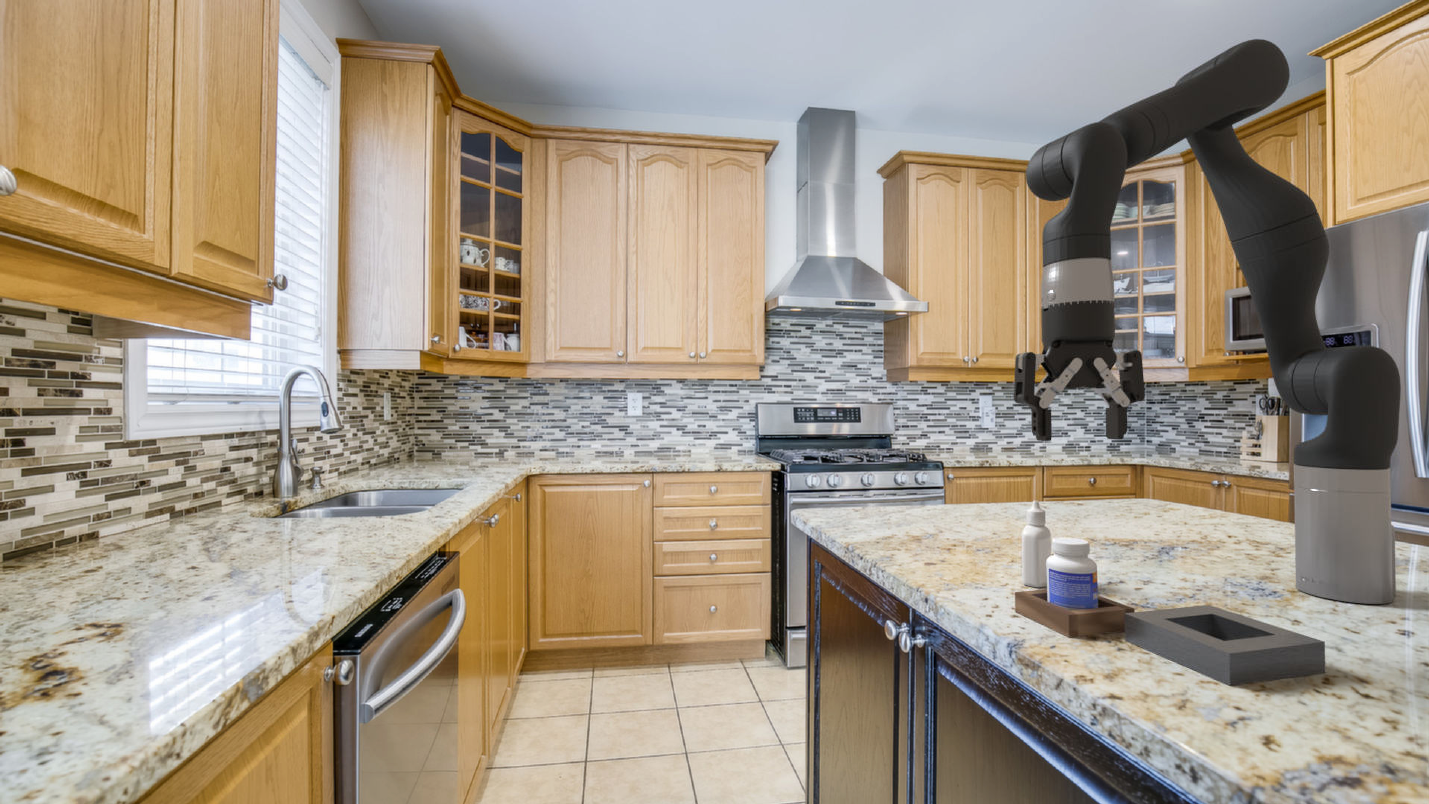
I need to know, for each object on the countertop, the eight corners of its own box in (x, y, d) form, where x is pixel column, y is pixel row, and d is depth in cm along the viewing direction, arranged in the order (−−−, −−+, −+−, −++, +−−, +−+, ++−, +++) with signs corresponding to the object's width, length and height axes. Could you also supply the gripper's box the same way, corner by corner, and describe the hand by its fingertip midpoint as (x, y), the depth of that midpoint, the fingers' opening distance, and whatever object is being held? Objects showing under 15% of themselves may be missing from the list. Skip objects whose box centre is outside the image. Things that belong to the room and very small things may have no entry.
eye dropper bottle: (1064, 585, 90) (1063, 502, 90) (1032, 589, 89) (1031, 504, 89) (1040, 577, 95) (1039, 497, 95) (1010, 580, 93) (1008, 500, 93)
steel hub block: (1208, 630, 72) (1208, 604, 72) (1325, 672, 61) (1324, 641, 61) (1124, 640, 70) (1124, 613, 70) (1230, 685, 58) (1229, 653, 58)
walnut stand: (1075, 605, 81) (1075, 586, 81) (1134, 630, 73) (1134, 608, 73) (1015, 611, 80) (1014, 591, 80) (1068, 637, 71) (1068, 615, 71)
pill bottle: (1106, 630, 73) (1104, 546, 73) (1055, 627, 74) (1054, 544, 74) (1088, 614, 78) (1087, 536, 78) (1041, 612, 79) (1040, 535, 79)
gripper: (1115, 307, 78) (1117, 437, 78) (1002, 308, 78) (1004, 439, 78) (1159, 296, 71) (1161, 441, 71) (1034, 298, 70) (1036, 443, 70)
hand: (1079, 439), depth 74 cm, fingers open, 8 cm apart
